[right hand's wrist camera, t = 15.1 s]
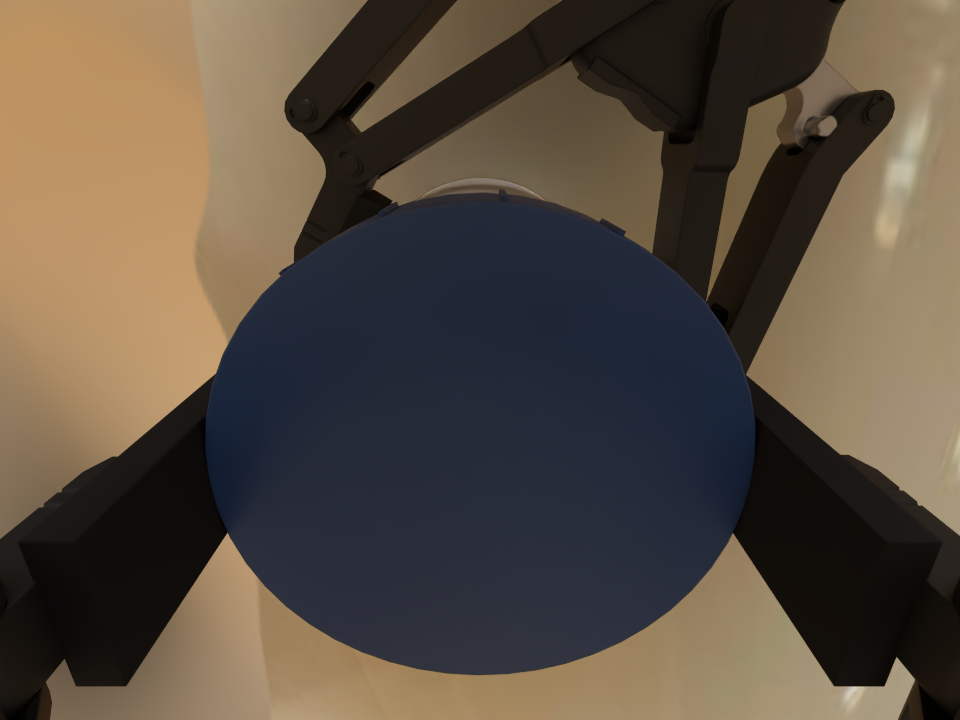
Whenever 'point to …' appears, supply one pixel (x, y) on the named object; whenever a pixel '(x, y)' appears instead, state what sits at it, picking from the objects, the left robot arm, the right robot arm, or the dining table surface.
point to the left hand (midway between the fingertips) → (423, 421)
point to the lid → (480, 436)
